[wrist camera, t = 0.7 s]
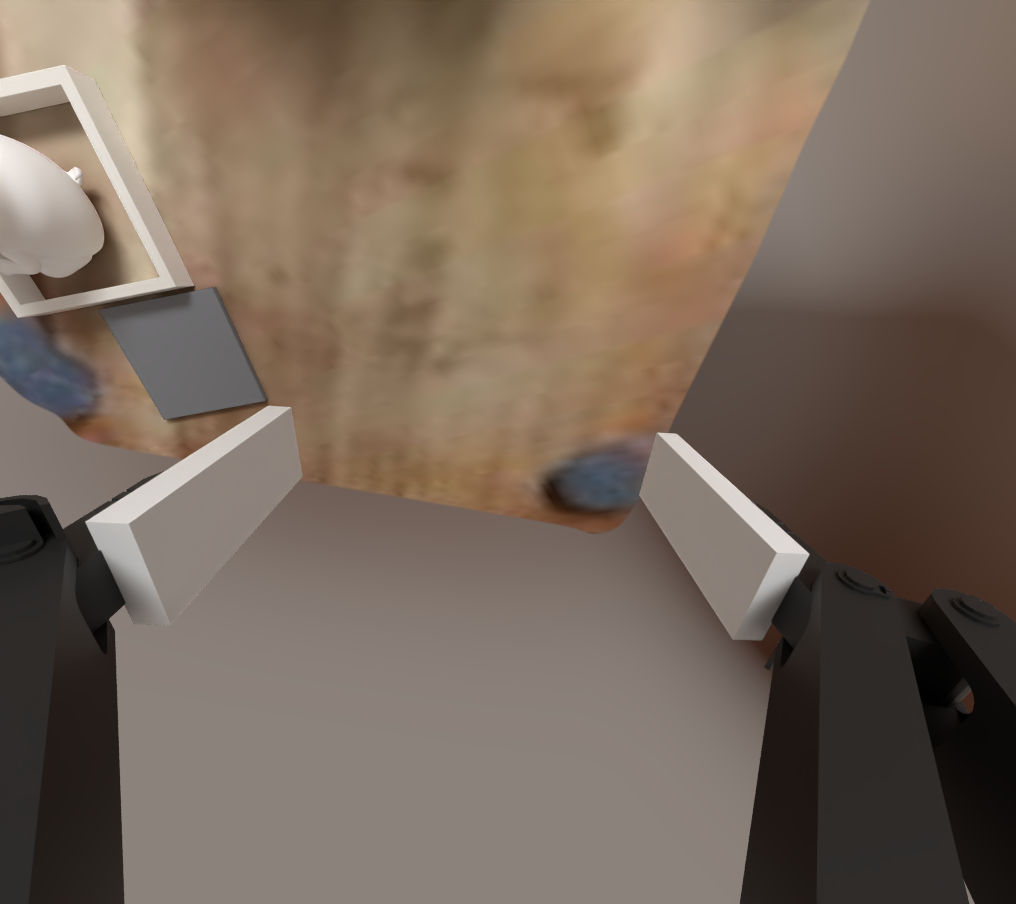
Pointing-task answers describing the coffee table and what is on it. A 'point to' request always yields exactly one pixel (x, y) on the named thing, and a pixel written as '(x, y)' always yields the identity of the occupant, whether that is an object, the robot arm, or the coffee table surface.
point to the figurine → (44, 215)
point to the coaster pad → (186, 353)
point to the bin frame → (123, 175)
